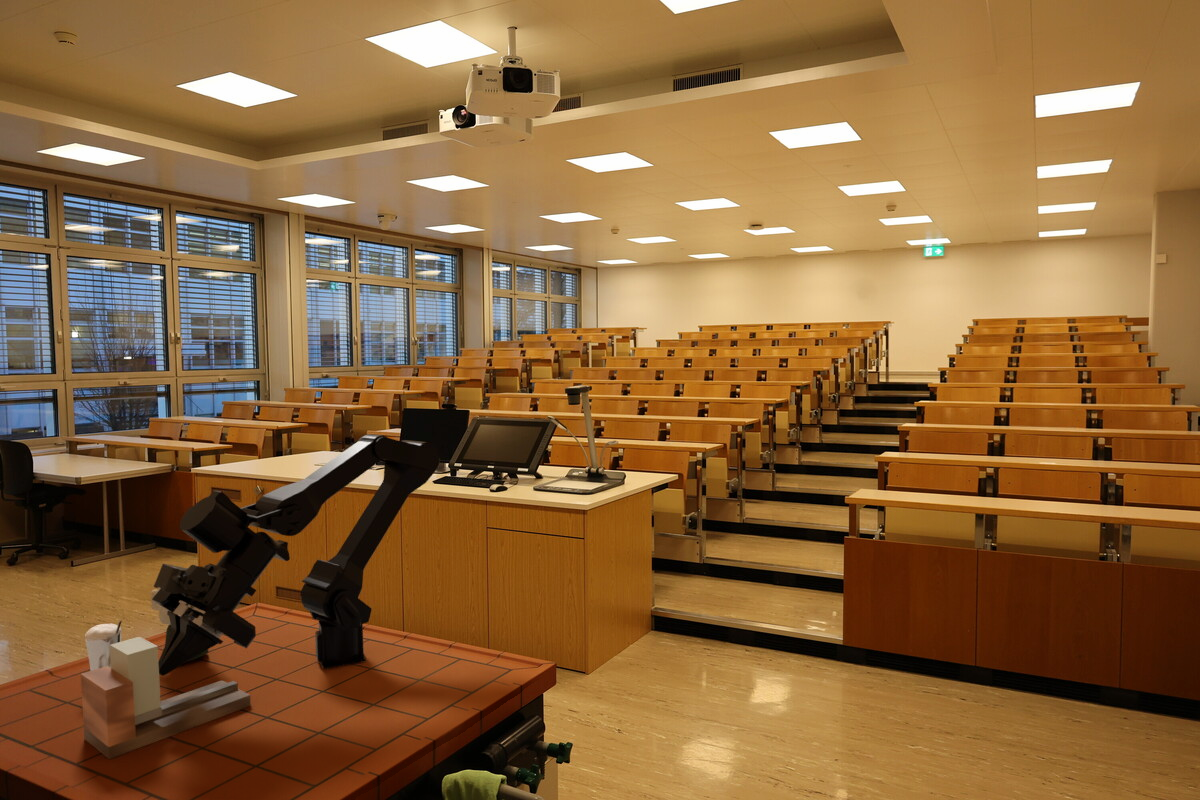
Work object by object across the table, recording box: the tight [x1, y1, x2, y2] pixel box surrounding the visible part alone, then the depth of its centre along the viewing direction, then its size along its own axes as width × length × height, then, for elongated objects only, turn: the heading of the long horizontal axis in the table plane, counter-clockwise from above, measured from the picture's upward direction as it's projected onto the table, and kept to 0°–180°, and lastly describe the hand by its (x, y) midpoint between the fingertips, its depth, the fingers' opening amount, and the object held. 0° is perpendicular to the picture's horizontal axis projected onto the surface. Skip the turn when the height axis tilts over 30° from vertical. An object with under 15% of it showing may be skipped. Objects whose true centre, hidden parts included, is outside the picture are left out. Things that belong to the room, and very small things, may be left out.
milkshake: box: [84, 620, 123, 671], centre depth 113 cm, size 5×5×10 cm
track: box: [80, 666, 251, 760], centre depth 102 cm, size 18×8×8 cm, turn 142°
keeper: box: [110, 636, 162, 725], centre depth 99 cm, size 4×6×9 cm, turn 52°
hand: (158, 673), depth 101 cm, fingers closed
